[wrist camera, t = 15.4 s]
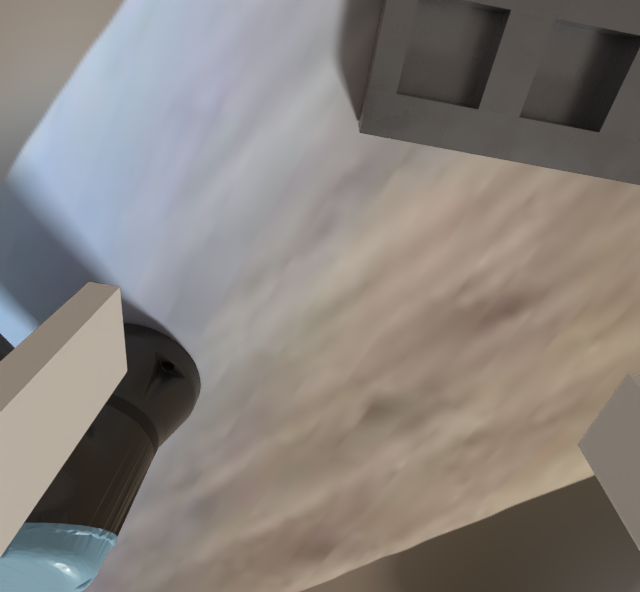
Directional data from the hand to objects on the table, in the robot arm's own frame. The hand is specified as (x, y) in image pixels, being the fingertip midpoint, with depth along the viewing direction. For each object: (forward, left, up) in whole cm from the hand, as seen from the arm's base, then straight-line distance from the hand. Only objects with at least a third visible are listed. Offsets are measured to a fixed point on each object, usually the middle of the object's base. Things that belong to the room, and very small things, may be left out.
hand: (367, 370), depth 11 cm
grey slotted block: (+14, +8, -29) cm, 33 cm away
